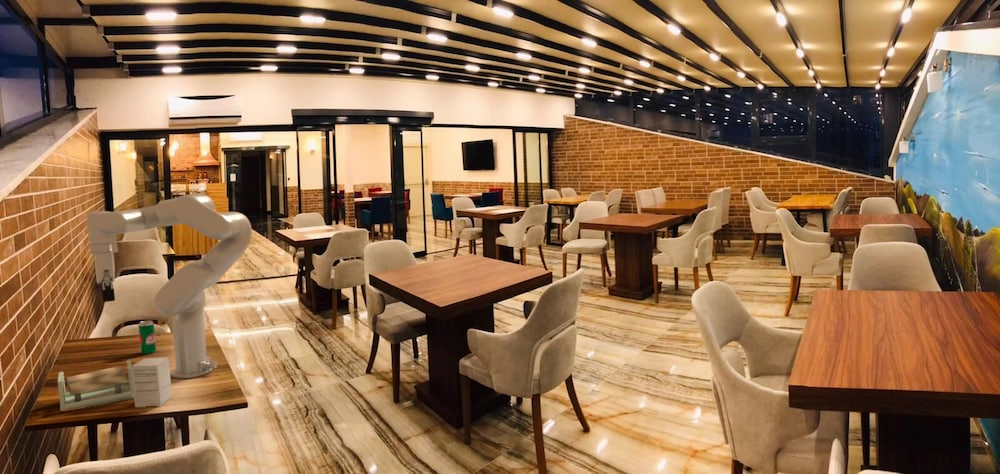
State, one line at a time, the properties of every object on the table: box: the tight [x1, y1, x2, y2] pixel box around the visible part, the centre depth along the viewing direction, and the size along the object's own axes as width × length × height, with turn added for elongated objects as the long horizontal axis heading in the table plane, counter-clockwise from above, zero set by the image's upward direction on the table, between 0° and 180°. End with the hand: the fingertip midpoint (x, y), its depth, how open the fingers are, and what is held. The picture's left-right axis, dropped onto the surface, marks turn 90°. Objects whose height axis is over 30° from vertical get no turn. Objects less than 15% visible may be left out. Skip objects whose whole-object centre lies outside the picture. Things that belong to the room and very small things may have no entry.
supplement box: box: [131, 356, 173, 408], centre depth 167 cm, size 7×7×13 cm
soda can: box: [137, 320, 157, 355], centre depth 215 cm, size 5×5×12 cm
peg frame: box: [57, 359, 134, 411], centre depth 170 cm, size 18×12×9 cm, turn 126°
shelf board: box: [66, 365, 128, 395], centre depth 170 cm, size 14×5×4 cm, turn 136°
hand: (108, 298), depth 189 cm, fingers open, 9 cm apart
